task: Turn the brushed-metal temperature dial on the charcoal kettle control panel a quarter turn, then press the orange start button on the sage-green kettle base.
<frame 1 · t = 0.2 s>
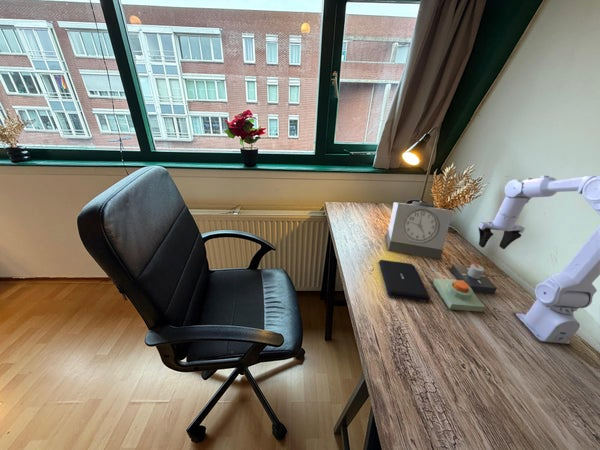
hand: (491, 246, 91), 10 cm above the table, tool pointing down, fingers open, 7 cm apart
start button: (460, 286, 79), point 4 cm above the table, slide at 0.1 cm
dial panel: (470, 280, 89), on the table
temp dial: (475, 271, 87), point 4 cm above the table, hinge at 0.0°
laptop: (401, 280, 87), on the table
alarm clock: (410, 245, 109), on the table
kettle base: (455, 296, 81), on the table
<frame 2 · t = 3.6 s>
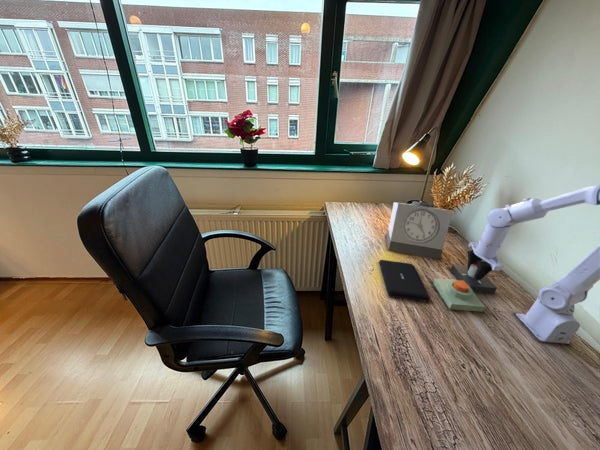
hand: (474, 274, 87), 3 cm above the table, tool pointing down, fingers closed on temp dial, 4 cm apart
temp dial: (475, 271, 87), point 4 cm above the table, hinge at 0.1°, touching gripper
everything else where it was.
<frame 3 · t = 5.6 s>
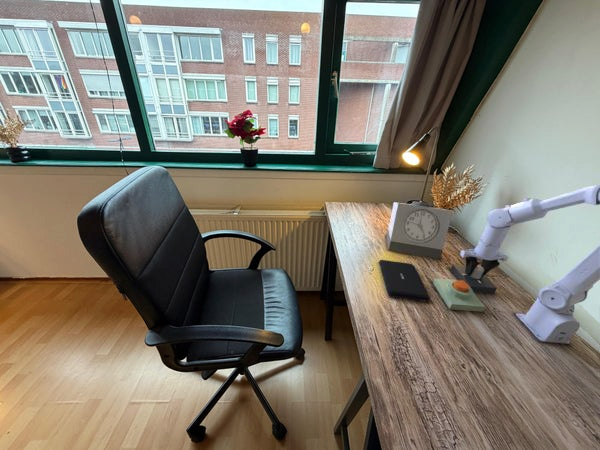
hand: (474, 274, 87), 3 cm above the table, tool pointing down, fingers closed on temp dial, 4 cm apart
temp dial: (475, 271, 87), point 4 cm above the table, hinge at 90.6°, touching gripper
everything else where it was.
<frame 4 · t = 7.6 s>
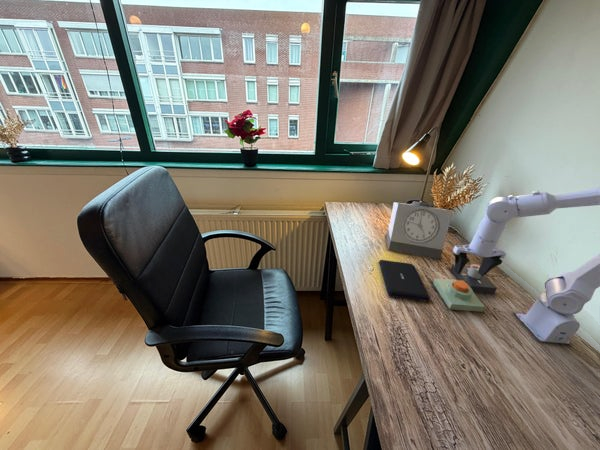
hand: (468, 273, 79), 8 cm above the table, tool pointing down, fingers open, 7 cm apart
temp dial: (475, 271, 87), point 4 cm above the table, hinge at 90.1°
everything else where it was.
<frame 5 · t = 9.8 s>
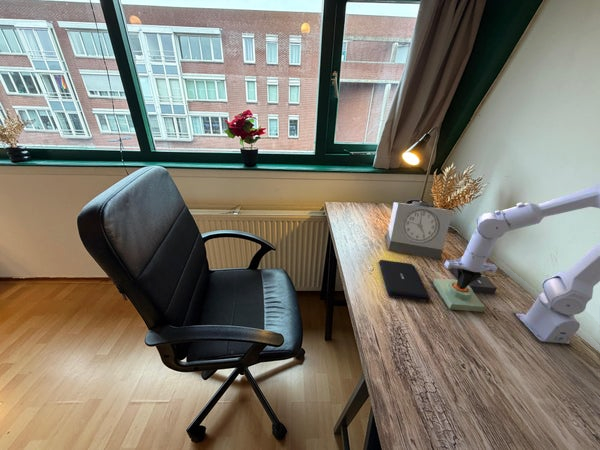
hand: (460, 286, 79), 4 cm above the table, tool pointing down, fingers closed, pressing on start button
start button: (459, 288, 79), point 3 cm above the table, slide at -1.0 cm, touching gripper
everything else where it was.
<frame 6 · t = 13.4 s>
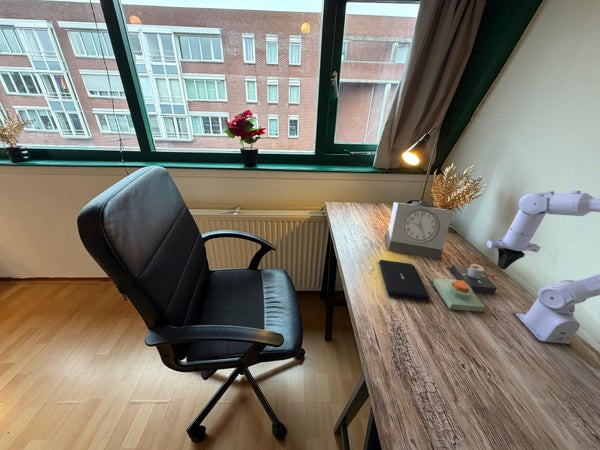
hand: (501, 267, 80), 10 cm above the table, tool pointing down, fingers closed
start button: (460, 286, 79), point 4 cm above the table, slide at 0.1 cm
everything else where it was.
at the end: temp dial at +90° (first picture: +0°); start button pushed in 1.2 cm at the most during the clip, back to where it started at the end; start button slide at 0.1 cm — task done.
